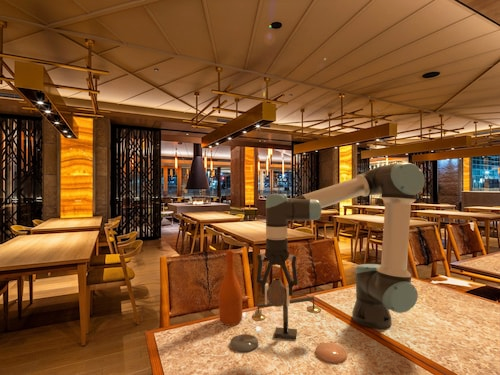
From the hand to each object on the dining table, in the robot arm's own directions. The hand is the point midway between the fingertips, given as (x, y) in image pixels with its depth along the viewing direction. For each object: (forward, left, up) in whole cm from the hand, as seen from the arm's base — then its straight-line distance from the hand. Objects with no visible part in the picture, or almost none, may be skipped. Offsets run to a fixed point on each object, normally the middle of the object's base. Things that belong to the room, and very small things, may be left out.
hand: (277, 303), depth 97 cm
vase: (0, 0, -1) cm, 1 cm away
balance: (-2, -9, -15) cm, 18 cm away
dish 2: (-18, 0, -15) cm, 24 cm away
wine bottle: (+22, -17, -16) cm, 32 cm away
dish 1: (+12, 0, -15) cm, 20 cm away
